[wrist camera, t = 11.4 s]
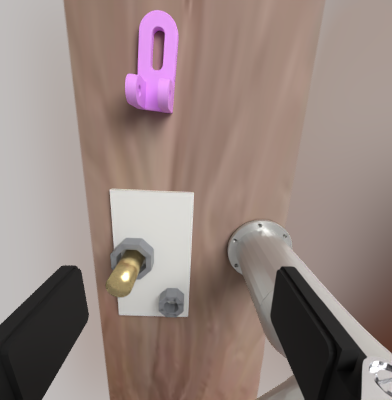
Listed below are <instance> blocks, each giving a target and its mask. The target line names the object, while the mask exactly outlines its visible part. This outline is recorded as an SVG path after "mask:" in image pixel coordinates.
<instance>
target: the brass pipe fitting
mask: <svg viewBox="0 0 392 400" xmlns="http://www.w3.org/2000/svg"><path fill="white" fill-rule="evenodd" d="M144 259H145V257H144V256H143V255H142V254H141V253H140V252H139V251H138V250H131V249H126V251H125V252H124V254H123V256H122V257H121V259H120V261H119V262H118V264H117V265H116V267H115V269H114V270H113V272H112V274H111V275H110V277H109V278H108V280H107V282H106V289H107V291H108V292H109V293H110V294H111V295H112V296H115V297H125V296H127V295H129V294H130V292H131V290H132V288H133V286H134V283H135V281H136V278H137V276H138V274H139V271H140V269H141V266H142V264H143V261H144Z"/></svg>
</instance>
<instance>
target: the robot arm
mask: <svg viewBox="0 0 392 400" xmlns="http://www.w3.org/2000/svg"><path fill="white" fill-rule="evenodd" d="M259 223H260V224H259ZM258 224H259V225H258ZM234 239H235V240H234ZM227 252H228V258H229V261H230V263H231V265H232V266H233V268H234V269H235V270H236V271H237V272H239V273H240V274H242V275H243V276H244V279H245V282H246V284H247V287H248V290H249V293H250V295H251V298H252V301H253V303H254V306H255V309H256V312H257V314H258V317H259V320H260V323H261V326H262V328H263V331H264V333H265V335H266V337H267V339H268V340H269V342H270V343H271V345H272V346H273V347H274V348H275V349H276V350H277V351H278V352H279V353H280V354H282V355H283V356H284V357H285V358H287V360H288V362H289V364H290V366H291V369H292V371H293V374H294V375H292V376H291V377H290V378H288V379H287V380H286V381H285V382H283V383H281V384H280V385H278V386H277V387H275V388H273V389H272V390H270V391H269V392H267V393H265V394H264V395H262V396H261V397H259V398H257V399H256V400H392V354H391V353H390V352H389V351H388V350H387V349H386V348H385V347H383V346H382V345H381V344H380V343H379V342H378V341H377V340H376V339H374V337H373V336H372V335H371V334H370V333H368V332H367V331H366V330H365V329H364V328H363V327H362V326H361V325H360V324H359V323H358V322H357V321H356V320H355V319H354V318H353V317H352V316H351V315H350V313H348V311H347V310H346V309H345V308H344V307H343V306H342V305H341V304H340V303H339V302H338V301H337V300H336V299H335V298H334V296H333V295H332V294H331V293H330V292H329V291H328V290H327V289H326V287H325V286H324V285H323V284H322V283H321V282H320V281H319V280H318V279H317V277H316V276H315V275H314V274H313V273H312V272H311V271H310V269H309V268H308V267H307V266H306V265H305V263H304V262H302V261H301V259H300V258H299V257H298V256H297V255H296V254H295V253H294V252H293V250H292V242H291V238H290V236H289V234H288V233H287V231H286V230H285V229H284V228H283V227H282V226H280V225H279V224H277V223H275V222H273V221H269V220H254V221H250V222H247V223H246V224H244V225H242V226H241V227H239V228H238V229H237V230H236V231H235V232H234V233H233V235H232V236H231V238H230V240H229V243H228V248H227ZM88 315H89V313H88V307H87V302H86V296H85V290H84V284H83V279H82V273H81V270H80V269H78V268H77V266H61V267H60V268H59V269H58V270H57V271H56V272H55V273H54V274H53V275H52V276H51V277H50V278H48V279H47V280H46V281H45V282H44V283H43V284H42V285H41V286H40V287H39V288H38V289H37V290H36V291H35V292H34V293H33V294H32V295H31V296H30V297H29V298H28V299H27V300H26V301H25V302H23V304H21V306H19V307H18V308H17V309H16V310H15V311H14V312H13V313H12V314H11V315H10V316H9V317H8V318H7V319H6V320H5V321H4V322H3V323H2V324H1V325H0V400H42V398H43V397H44V395H45V393H46V392H47V390H48V388H49V386H50V385H51V383H52V381H53V380H54V378H55V376H56V374H57V373H58V371H59V369H60V368H61V366H62V364H63V362H64V361H65V359H66V357H67V356H68V354H69V352H70V350H71V349H72V347H73V345H74V344H75V342H76V340H77V338H78V337H79V335H80V333H81V332H82V330H83V328H84V326H85V324H86V323H87V321H88Z"/></svg>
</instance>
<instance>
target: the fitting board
mask: <svg viewBox="0 0 392 400" xmlns="http://www.w3.org/2000/svg"><path fill="white" fill-rule="evenodd" d="M110 202H111V215H112V228H113V242H114V250H113V251H112V253H111V254H110V255H111V268H112V270H114V269H115V267H116V265H117V264H118V262H119V261H120V259H121V257H122V256H123V254H124V252H125V251H126V249H131V250H138V251H139V252H140V253H141V254H142V255H143V256H144V257H145V259H144V261H143V264H142V266H141V269H140V271H139V274H138V276H137V278H136V281H135V283H134V286H133V288H132V290H131V292H130V294H129V295H127V296H125V297H118V308H119V315H136V316H165V317H188V307H189V286H190V265H191V244H192V223H193V202H194V192H176V191H154V190H132V189H110Z"/></svg>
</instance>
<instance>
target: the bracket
mask: <svg viewBox="0 0 392 400" xmlns="http://www.w3.org/2000/svg"><path fill="white" fill-rule="evenodd" d="M157 31H162V32H164V34H165V42H164V57H163V67H162V68H161V69H160V70H158V71H157V70H154V69H153V68H152V60H153V42H154V34H155V33H156V32H157ZM177 52H178V31H177V26H176V24H175V22H174V20H173V19H172V17H171V16H170V15H169V14H167V13H166V12H163V11H159V10H156V11H152V12H149V13H148V14H147V15H145V17H144V18H143V19H142V21H141V24H140V28H139V49H138V75H136V74H127V76H126V81H125V93H126V99H127V102H128V103H129V104H130V105H132V106H134V107H136V108H137V109H142V110H149V111H157V112H164V113H172V112H173V100H174V88H175V76H176V64H177Z"/></svg>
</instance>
